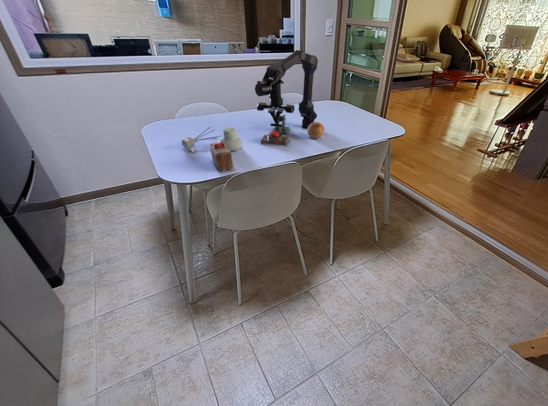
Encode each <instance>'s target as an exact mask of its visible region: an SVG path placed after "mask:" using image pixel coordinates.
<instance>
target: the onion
mask: <svg viewBox="0 0 548 406" xmlns="http://www.w3.org/2000/svg"><path fill="white" fill-rule="evenodd" d="M306 131H307V135H308V136H309V138H310V139H313V140H320V139H322V137H323V136H324V134H325V127H324V125H323V124H322V123H321V122H319V121H314V122H313V123H311V124H310V125H309V126H308V129H306Z"/></svg>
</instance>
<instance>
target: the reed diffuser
mask: <svg viewBox="0 0 548 406" xmlns="http://www.w3.org/2000/svg"><path fill="white" fill-rule="evenodd" d="M211 128H212V127H211V126H209V127H207V129H205V130H204V131H202V133H200V134H199V135H198V136H197V137H194V138H192V137H190V136H189V137H186V138H184V139H181V146H182V147H183V148H184V149H186V150H188V151H189V152H191V153H194V152H195V145H196V143H197V142H199V141H204V140H214V139H215V140H216V138H219V137H221V135H217V136H216V137H215V136H212V137H206V138H201V137H204V136H206V135H208V134H210V133H213V132H214V131H215V129H213V130H211V131H209V132H207V131H208V130H209V129H211ZM205 132H207V133H205Z"/></svg>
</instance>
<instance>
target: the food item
mask: <svg viewBox="0 0 548 406" xmlns="http://www.w3.org/2000/svg"><path fill="white" fill-rule="evenodd" d="M225 144H226V143H225ZM225 144H224V143H221V141H220V142H213V143H210V144H209V146H210V148H209V149H210V154H211V158H212V161H213V162H214V164H215V167H216V168H217V169H218V170H219V172H225V171H231V170H233V169H234V161H233V155H232V152H231V151H230V150H229V146H228V145H225Z"/></svg>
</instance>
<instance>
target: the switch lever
mask: <svg viewBox="0 0 548 406" xmlns="http://www.w3.org/2000/svg"><path fill="white" fill-rule="evenodd" d="M282 116H283V115H280V116H279V120H278V123H277V124H275V123H270V127H274V128H275V127H282Z"/></svg>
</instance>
